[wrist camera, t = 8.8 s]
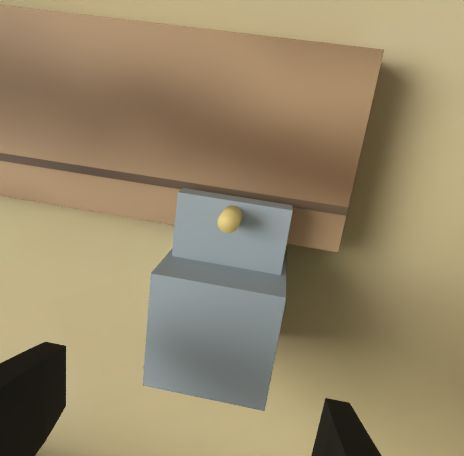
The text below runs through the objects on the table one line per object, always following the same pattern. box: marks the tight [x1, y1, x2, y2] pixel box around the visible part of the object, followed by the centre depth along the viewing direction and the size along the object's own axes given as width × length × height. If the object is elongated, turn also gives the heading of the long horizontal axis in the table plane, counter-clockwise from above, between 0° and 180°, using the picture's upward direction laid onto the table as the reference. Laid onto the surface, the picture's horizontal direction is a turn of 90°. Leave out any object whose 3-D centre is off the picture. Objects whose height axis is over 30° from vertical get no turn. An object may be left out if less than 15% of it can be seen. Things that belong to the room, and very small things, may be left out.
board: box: [0, 5, 384, 252], centre depth 15 cm, size 7×20×2 cm, turn 83°
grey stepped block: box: [143, 188, 293, 411], centre depth 15 cm, size 7×4×5 cm, turn 173°
